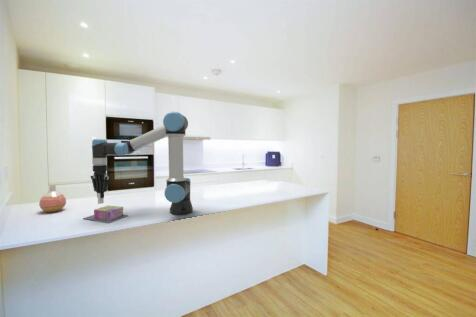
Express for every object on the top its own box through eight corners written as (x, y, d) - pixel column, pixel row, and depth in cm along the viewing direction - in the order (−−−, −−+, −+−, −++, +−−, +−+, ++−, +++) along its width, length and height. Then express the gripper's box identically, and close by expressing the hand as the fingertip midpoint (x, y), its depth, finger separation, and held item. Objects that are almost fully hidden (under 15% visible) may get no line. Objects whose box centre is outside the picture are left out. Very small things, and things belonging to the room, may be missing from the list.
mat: (127, 216, 142) (127, 215, 142) (109, 223, 129) (109, 222, 129) (103, 212, 148) (103, 211, 148) (83, 219, 135) (83, 218, 135)
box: (93, 219, 134) (110, 220, 131) (93, 209, 133) (110, 211, 131) (107, 214, 144) (123, 215, 141) (107, 205, 144) (123, 206, 141)
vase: (56, 214, 143) (55, 186, 142) (33, 214, 142) (32, 186, 141) (71, 208, 157) (70, 183, 156) (50, 208, 156) (49, 183, 155)
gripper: (113, 164, 138) (114, 202, 140) (97, 163, 142) (98, 200, 144) (102, 165, 131) (103, 205, 132) (86, 164, 135) (87, 203, 136)
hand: (100, 203), depth 138 cm, fingers closed
